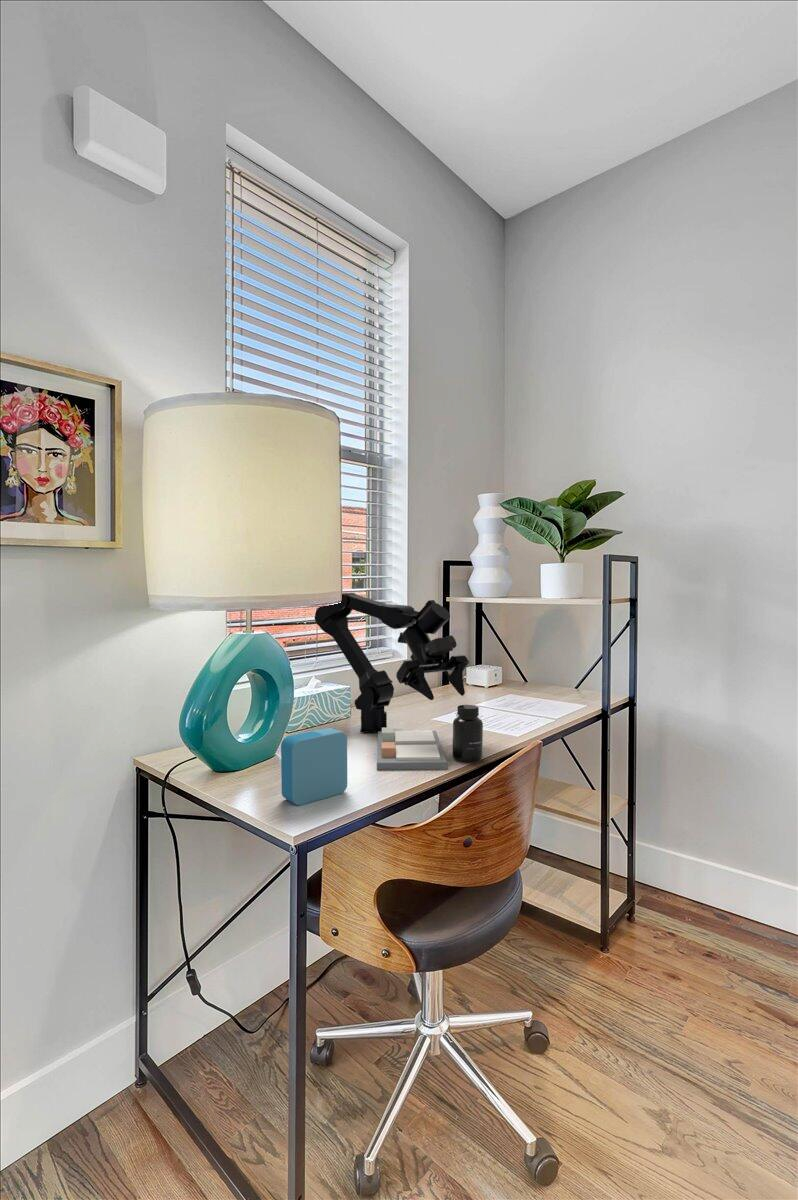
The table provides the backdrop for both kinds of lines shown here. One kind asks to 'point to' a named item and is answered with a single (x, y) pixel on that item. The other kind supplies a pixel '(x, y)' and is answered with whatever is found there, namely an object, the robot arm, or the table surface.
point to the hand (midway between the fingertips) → (448, 697)
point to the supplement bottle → (467, 735)
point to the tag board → (409, 750)
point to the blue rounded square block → (313, 765)
